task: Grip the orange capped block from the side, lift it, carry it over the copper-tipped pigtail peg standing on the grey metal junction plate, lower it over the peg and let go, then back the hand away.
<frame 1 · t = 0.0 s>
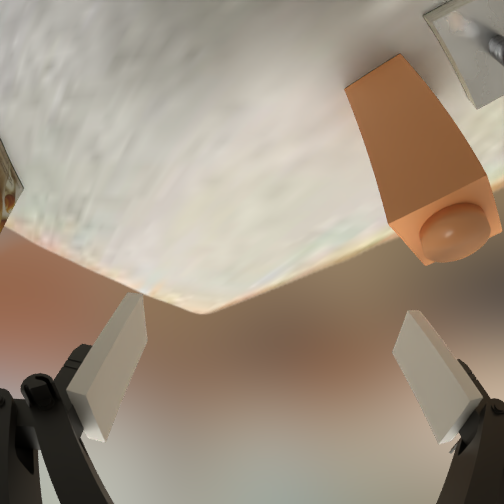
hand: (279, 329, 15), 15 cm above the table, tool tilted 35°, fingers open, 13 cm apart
orange capped block: (390, 95, 19), on the table
junction plate: (488, 39, 13), on the table
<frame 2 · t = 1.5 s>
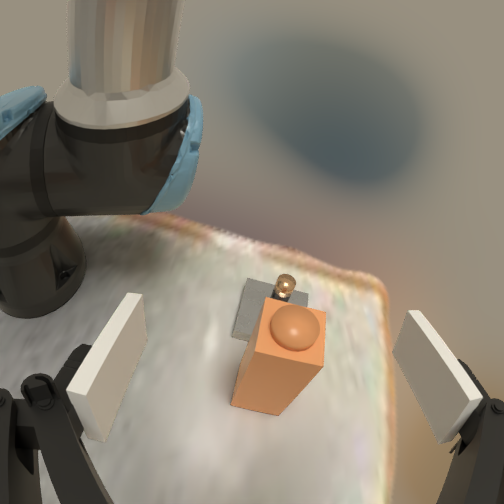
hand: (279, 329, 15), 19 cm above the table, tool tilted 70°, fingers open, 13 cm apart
orange capped block: (258, 389, 31), on the table
junction plate: (271, 317, 38), on the table
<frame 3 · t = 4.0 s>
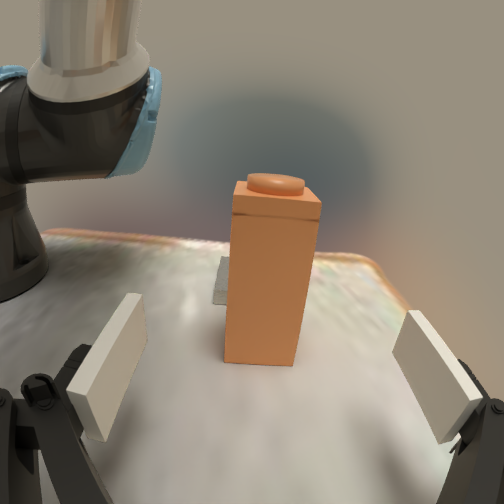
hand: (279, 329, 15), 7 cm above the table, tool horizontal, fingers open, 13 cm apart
orange capped block: (258, 343, 24), on the table
junction plate: (255, 287, 33), on the table
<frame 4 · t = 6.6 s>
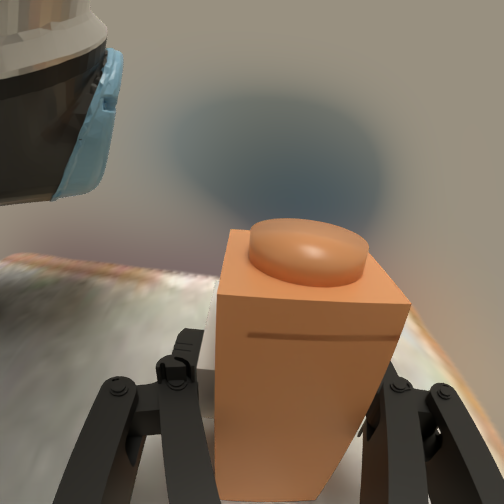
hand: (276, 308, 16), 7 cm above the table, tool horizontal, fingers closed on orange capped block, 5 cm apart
orange capped block: (265, 463, 14), on the table, touching gripper
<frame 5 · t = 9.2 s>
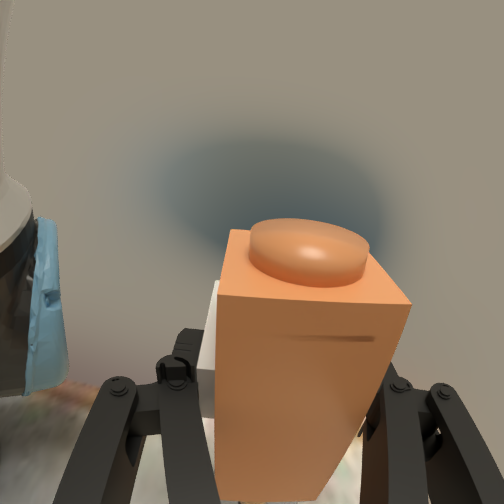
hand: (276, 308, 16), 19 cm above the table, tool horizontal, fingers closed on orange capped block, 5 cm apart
orange capped block: (265, 464, 14), point 12 cm above the table, touching gripper
when the fingers open (10 cm above the table, at t = 11.7 s): orange capped block drops 1 cm, resting on junction plate.
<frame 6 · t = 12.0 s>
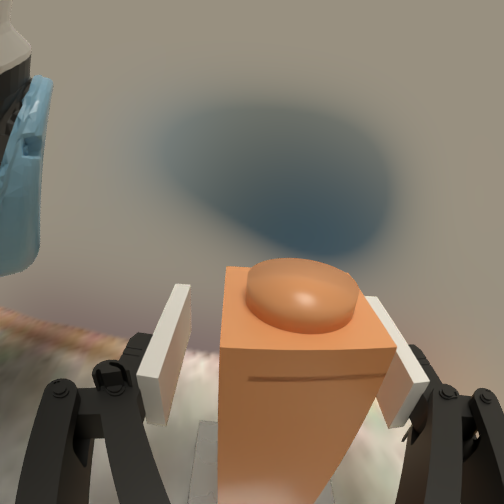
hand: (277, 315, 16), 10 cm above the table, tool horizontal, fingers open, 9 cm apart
orange capped block: (262, 475, 15), point 1 cm above the table, touching junction plate
junction plate: (259, 484, 15), on the table
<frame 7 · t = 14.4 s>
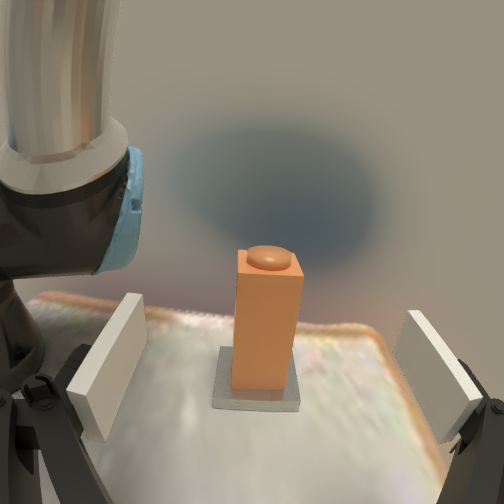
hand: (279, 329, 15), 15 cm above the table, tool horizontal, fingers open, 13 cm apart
orange capped block: (256, 372, 30), point 1 cm above the table, touching junction plate
junction plate: (255, 382, 31), on the table
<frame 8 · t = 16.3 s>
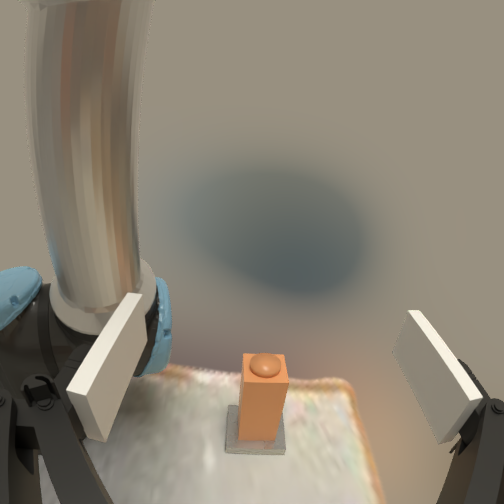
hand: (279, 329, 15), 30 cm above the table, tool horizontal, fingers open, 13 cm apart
orange capped block: (255, 426, 39), point 1 cm above the table, touching junction plate
junction plate: (254, 432, 40), on the table
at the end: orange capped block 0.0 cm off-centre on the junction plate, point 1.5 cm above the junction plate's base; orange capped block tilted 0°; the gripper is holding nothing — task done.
